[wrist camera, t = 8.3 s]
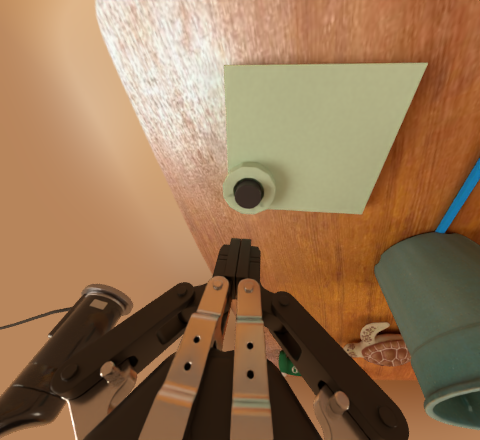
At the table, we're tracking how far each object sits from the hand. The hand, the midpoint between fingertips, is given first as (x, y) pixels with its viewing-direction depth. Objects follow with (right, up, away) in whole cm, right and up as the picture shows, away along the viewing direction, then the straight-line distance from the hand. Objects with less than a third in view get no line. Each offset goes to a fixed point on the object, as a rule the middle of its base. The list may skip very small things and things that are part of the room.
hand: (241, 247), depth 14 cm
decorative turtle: (+31, -23, +27) cm, 47 cm away
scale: (+7, +10, +6) cm, 14 cm away
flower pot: (+27, -4, +14) cm, 30 cm away
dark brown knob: (+1, +5, +7) cm, 9 cm away
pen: (+26, +4, +9) cm, 27 cm away
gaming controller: (+15, -35, +37) cm, 53 cm away
